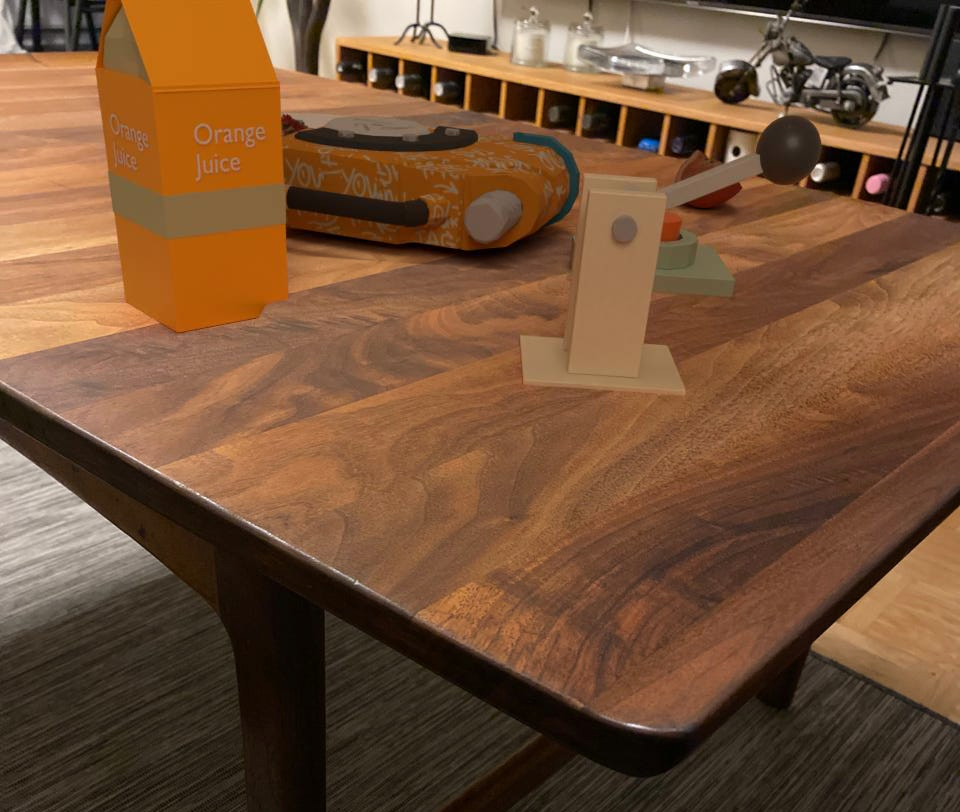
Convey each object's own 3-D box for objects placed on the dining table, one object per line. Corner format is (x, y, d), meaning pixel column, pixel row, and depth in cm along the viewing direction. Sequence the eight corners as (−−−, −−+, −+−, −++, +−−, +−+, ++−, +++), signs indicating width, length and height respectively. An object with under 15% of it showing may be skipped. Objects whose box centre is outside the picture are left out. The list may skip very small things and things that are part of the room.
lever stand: (664, 362, 70) (697, 176, 63) (683, 409, 63) (721, 207, 57) (518, 352, 70) (535, 164, 63) (521, 398, 63) (541, 193, 56)
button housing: (707, 271, 89) (716, 223, 87) (729, 308, 81) (740, 256, 79) (569, 261, 89) (575, 212, 86) (577, 297, 80) (584, 244, 78)
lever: (817, 163, 61) (805, 100, 59) (834, 176, 58) (822, 110, 56) (602, 247, 64) (585, 188, 62) (608, 263, 61) (590, 203, 59)
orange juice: (290, 311, 73) (277, -22, 62) (177, 333, 68) (140, -25, 57) (233, 282, 78) (211, -33, 66) (123, 300, 73) (78, -37, 61)
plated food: (422, 197, 104) (423, 161, 102) (140, 165, 107) (136, 130, 105) (473, 145, 128) (475, 115, 126) (243, 121, 131) (241, 91, 129)
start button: (674, 233, 84) (678, 211, 83) (681, 247, 81) (685, 224, 80) (625, 230, 84) (629, 207, 83) (631, 243, 81) (634, 220, 80)
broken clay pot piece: (662, 195, 112) (670, 146, 109) (720, 198, 113) (730, 148, 110) (685, 215, 106) (694, 162, 103) (747, 217, 107) (758, 165, 104)
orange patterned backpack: (524, 181, 75) (160, 129, 81) (513, 294, 80) (171, 237, 86) (590, 134, 93) (287, 94, 99) (578, 229, 98) (290, 185, 104)
